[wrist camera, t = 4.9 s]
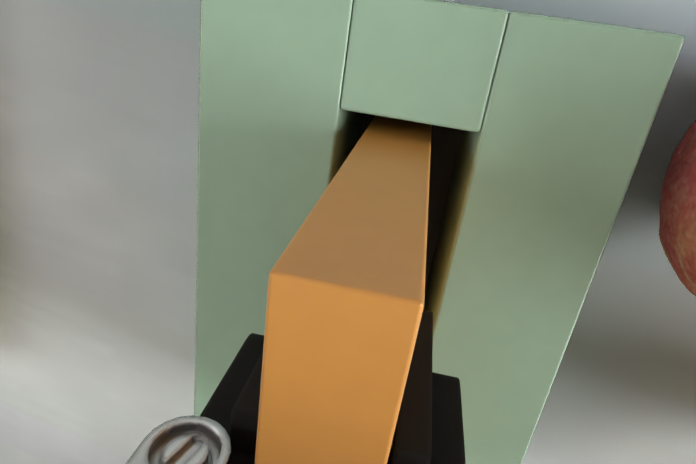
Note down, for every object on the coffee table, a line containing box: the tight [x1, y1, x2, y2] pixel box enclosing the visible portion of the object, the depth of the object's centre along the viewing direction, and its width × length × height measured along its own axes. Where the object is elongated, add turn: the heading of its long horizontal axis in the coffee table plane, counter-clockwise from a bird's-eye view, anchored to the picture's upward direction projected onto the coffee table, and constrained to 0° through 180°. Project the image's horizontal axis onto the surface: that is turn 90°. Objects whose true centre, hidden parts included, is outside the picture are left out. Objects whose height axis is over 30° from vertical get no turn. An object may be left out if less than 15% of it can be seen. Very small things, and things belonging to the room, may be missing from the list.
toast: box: [255, 116, 432, 464], centre depth 11 cm, size 9×2×10 cm, turn 172°
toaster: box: [194, 0, 685, 464], centre depth 15 cm, size 17×10×5 cm, turn 172°
